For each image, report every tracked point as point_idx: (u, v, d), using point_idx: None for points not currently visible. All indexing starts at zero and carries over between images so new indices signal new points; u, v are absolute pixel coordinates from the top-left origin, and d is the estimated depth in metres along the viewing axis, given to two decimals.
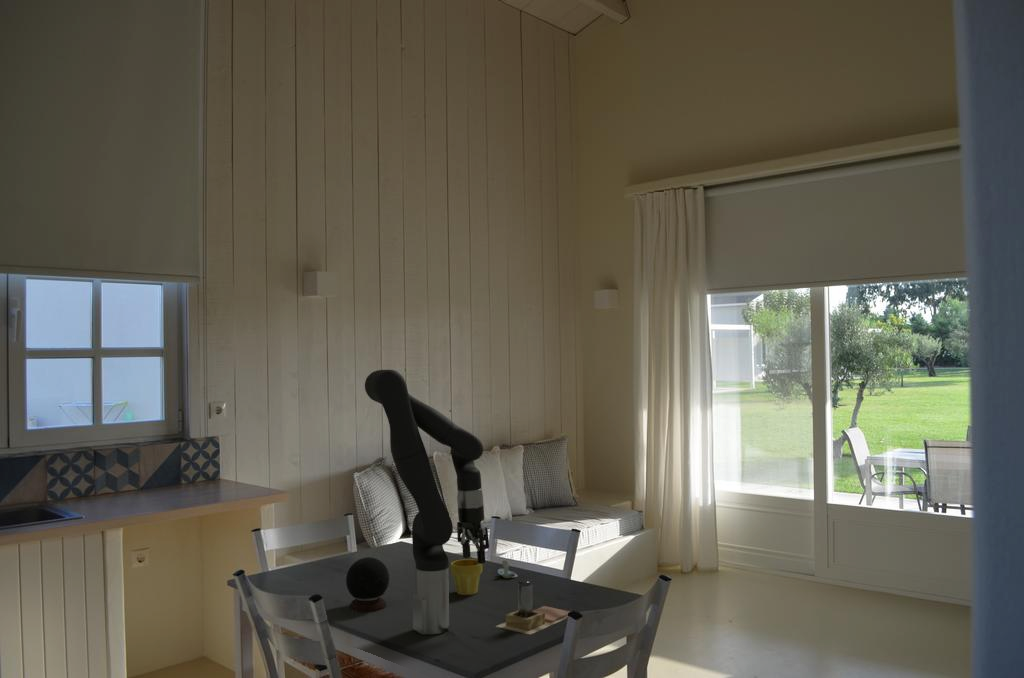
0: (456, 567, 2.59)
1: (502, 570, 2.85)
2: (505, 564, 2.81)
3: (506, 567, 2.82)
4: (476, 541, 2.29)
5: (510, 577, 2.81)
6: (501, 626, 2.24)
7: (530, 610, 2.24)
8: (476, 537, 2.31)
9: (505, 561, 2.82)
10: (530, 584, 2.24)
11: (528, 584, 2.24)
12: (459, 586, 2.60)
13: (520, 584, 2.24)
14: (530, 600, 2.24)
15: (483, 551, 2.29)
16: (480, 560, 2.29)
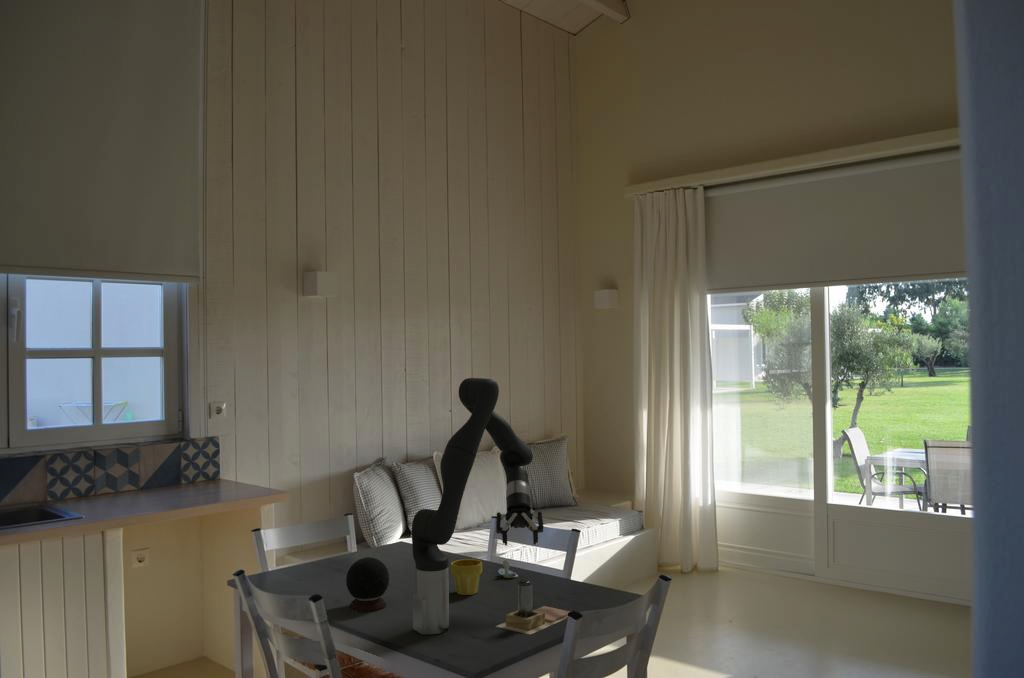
0: (456, 567, 2.59)
1: (503, 570, 2.85)
2: (506, 563, 2.81)
3: (507, 567, 2.82)
4: None
5: (511, 577, 2.81)
6: (501, 626, 2.24)
7: (530, 610, 2.24)
8: None
9: (506, 561, 2.82)
10: (530, 584, 2.24)
11: (528, 584, 2.24)
12: (459, 586, 2.60)
13: (520, 584, 2.24)
14: (530, 600, 2.24)
15: (537, 533, 2.42)
16: (536, 538, 2.40)
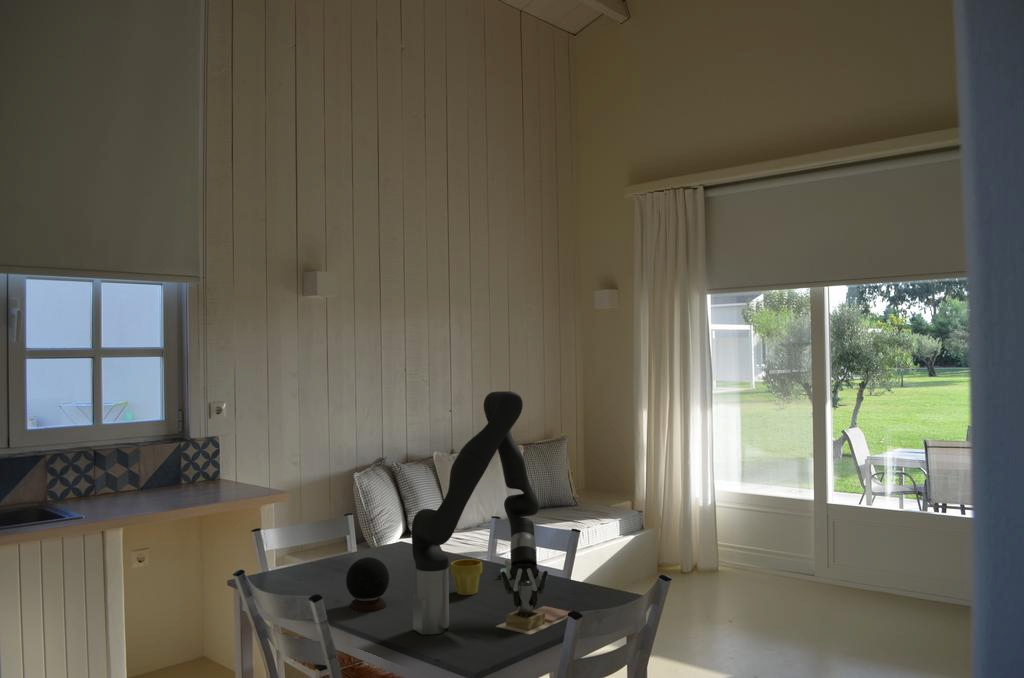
0: (456, 567, 2.59)
1: (504, 570, 2.86)
2: (508, 563, 2.82)
3: (508, 567, 2.82)
4: (534, 582, 2.28)
5: None
6: (501, 626, 2.24)
7: (530, 610, 2.24)
8: None
9: (507, 561, 2.82)
10: (530, 584, 2.24)
11: (528, 584, 2.24)
12: (459, 586, 2.60)
13: (520, 584, 2.24)
14: (530, 600, 2.24)
15: (536, 594, 2.26)
16: (536, 601, 2.24)
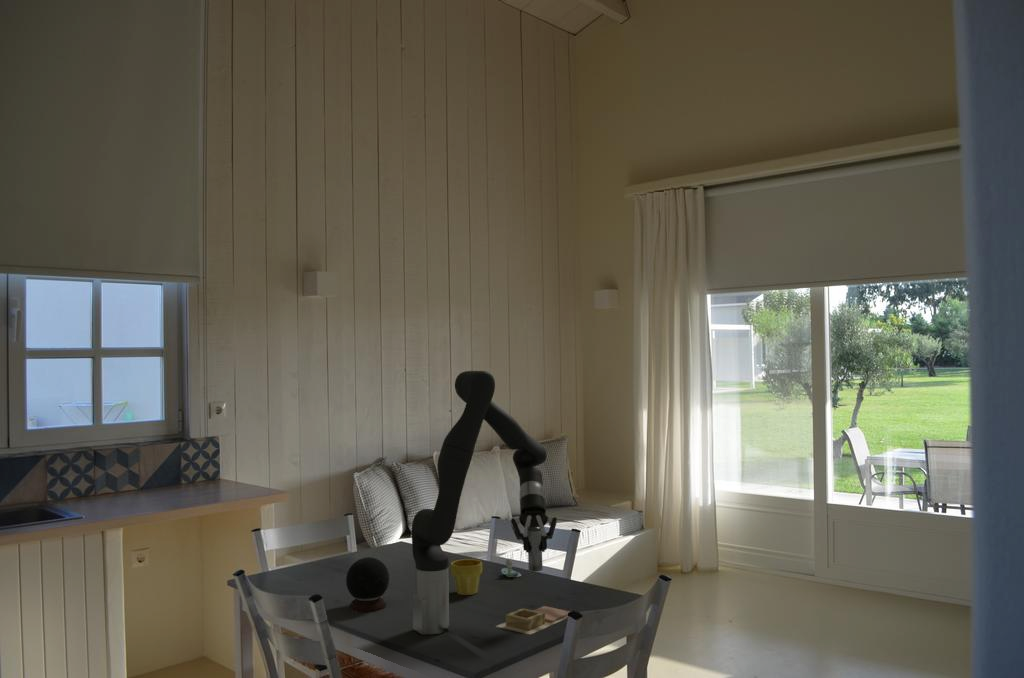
0: (456, 567, 2.59)
1: (506, 569, 2.86)
2: (509, 563, 2.82)
3: (510, 566, 2.82)
4: None
5: (514, 576, 2.82)
6: (501, 626, 2.24)
7: (540, 555, 2.28)
8: None
9: (509, 560, 2.83)
10: (539, 529, 2.29)
11: (537, 530, 2.28)
12: (459, 586, 2.60)
13: (530, 529, 2.28)
14: (540, 545, 2.28)
15: None
16: (545, 545, 2.28)
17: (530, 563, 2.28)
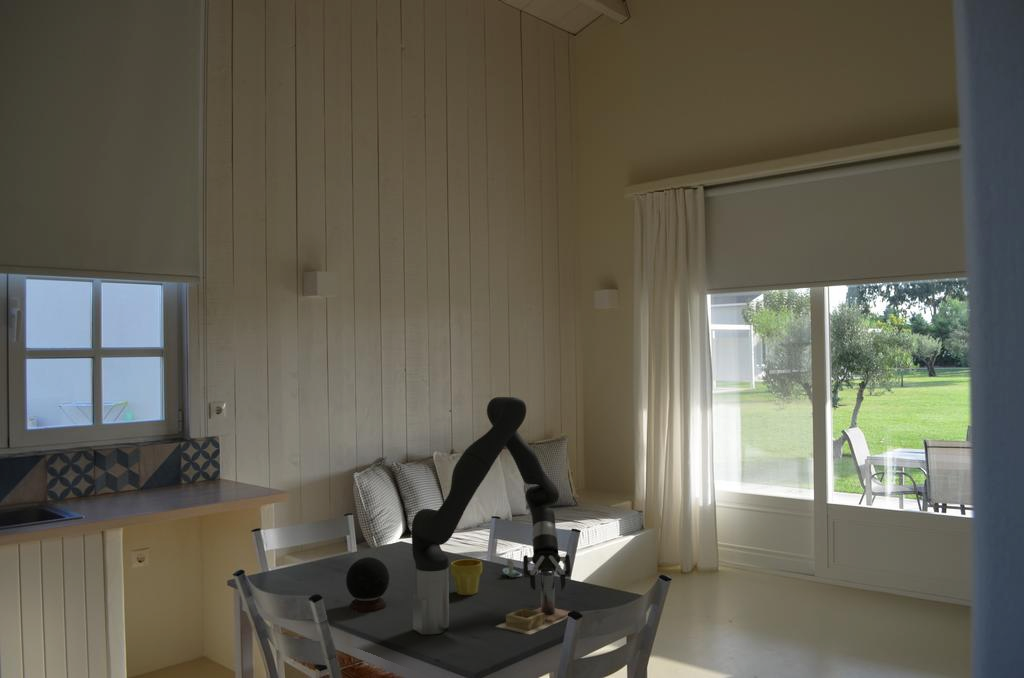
0: (456, 567, 2.59)
1: (507, 569, 2.86)
2: (510, 563, 2.82)
3: (511, 566, 2.83)
4: None
5: (515, 576, 2.82)
6: (501, 626, 2.24)
7: (552, 599, 2.33)
8: None
9: (510, 560, 2.83)
10: (552, 574, 2.33)
11: (550, 574, 2.33)
12: (459, 586, 2.60)
13: (543, 574, 2.33)
14: (552, 589, 2.33)
15: (564, 578, 2.36)
16: (564, 583, 2.33)
17: (543, 607, 2.33)
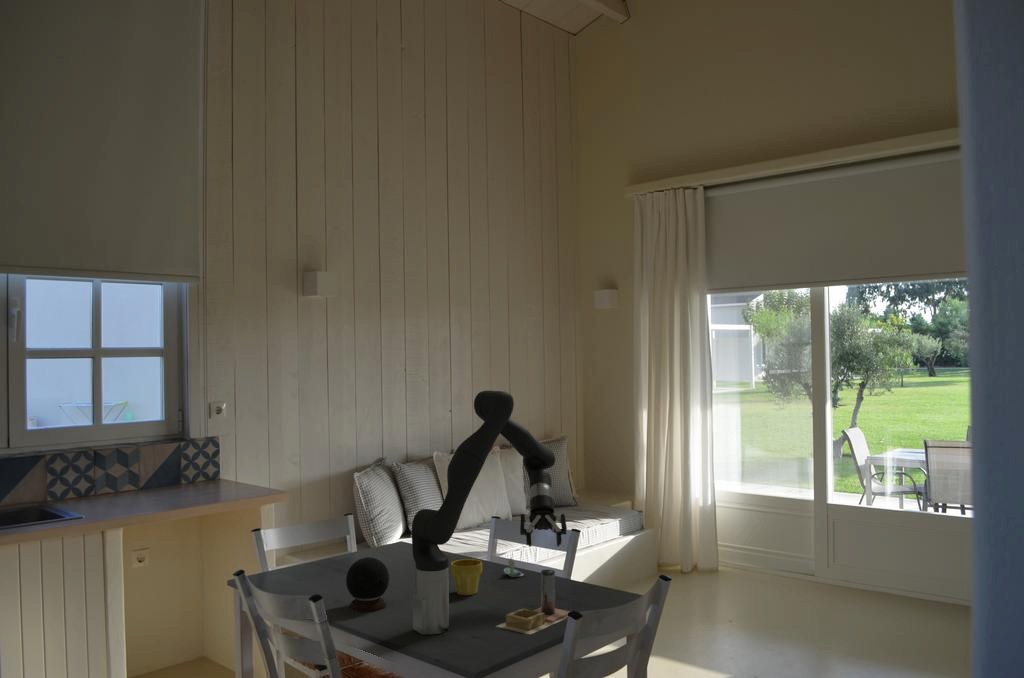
0: (456, 567, 2.59)
1: (508, 569, 2.87)
2: (512, 563, 2.83)
3: (512, 566, 2.83)
4: None
5: (516, 576, 2.82)
6: (501, 626, 2.24)
7: (553, 599, 2.33)
8: (551, 524, 2.48)
9: (511, 560, 2.83)
10: (553, 574, 2.33)
11: (551, 574, 2.33)
12: (459, 586, 2.60)
13: (543, 574, 2.33)
14: (553, 589, 2.33)
15: (560, 535, 2.46)
16: (560, 540, 2.44)
17: (543, 607, 2.33)
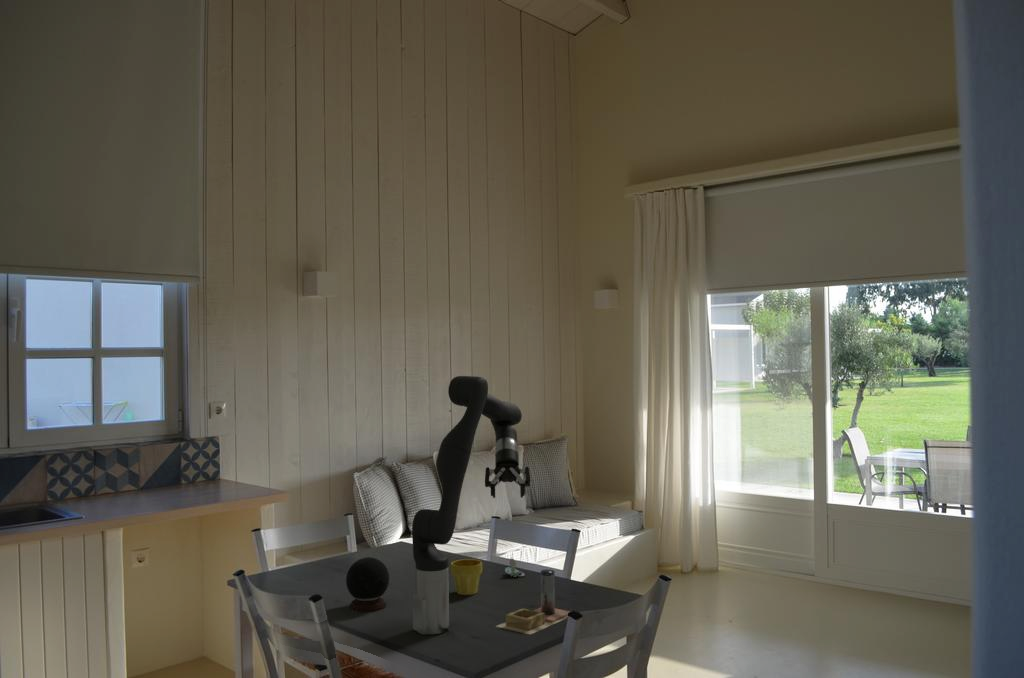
0: (456, 567, 2.59)
1: (509, 569, 2.87)
2: (513, 562, 2.83)
3: (513, 566, 2.83)
4: None
5: (517, 575, 2.82)
6: (501, 626, 2.24)
7: (553, 599, 2.33)
8: None
9: (512, 560, 2.83)
10: (553, 574, 2.33)
11: (551, 574, 2.32)
12: (459, 586, 2.60)
13: (543, 574, 2.33)
14: (553, 589, 2.33)
15: (524, 487, 2.51)
16: (523, 491, 2.49)
17: (543, 607, 2.33)
